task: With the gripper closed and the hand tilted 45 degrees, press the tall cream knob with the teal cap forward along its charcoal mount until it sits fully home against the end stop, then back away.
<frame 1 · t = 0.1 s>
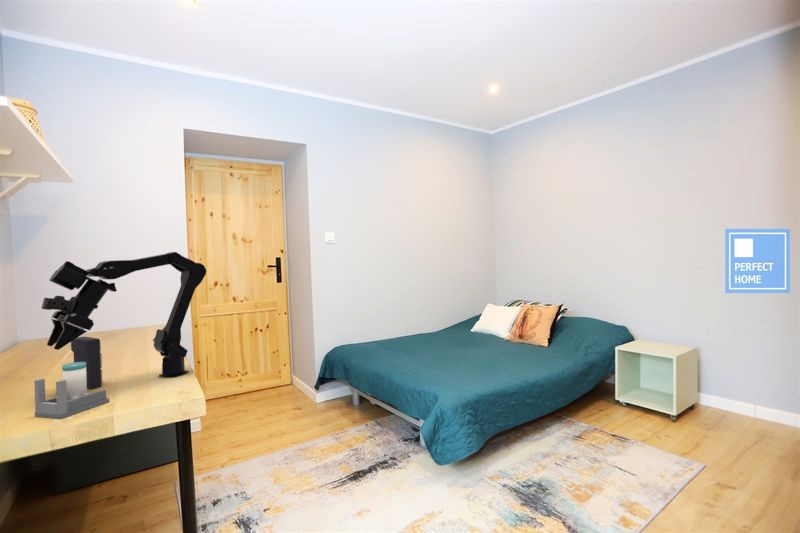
hand: (52, 347, 110), 15 cm above the table, tool tilted 35°, fingers open, 9 cm apart
knob mount: (75, 408, 103), on the table
knob: (74, 384, 103), point 6 cm above the table, slide at 0.0 cm
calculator: (88, 386, 124), on the table
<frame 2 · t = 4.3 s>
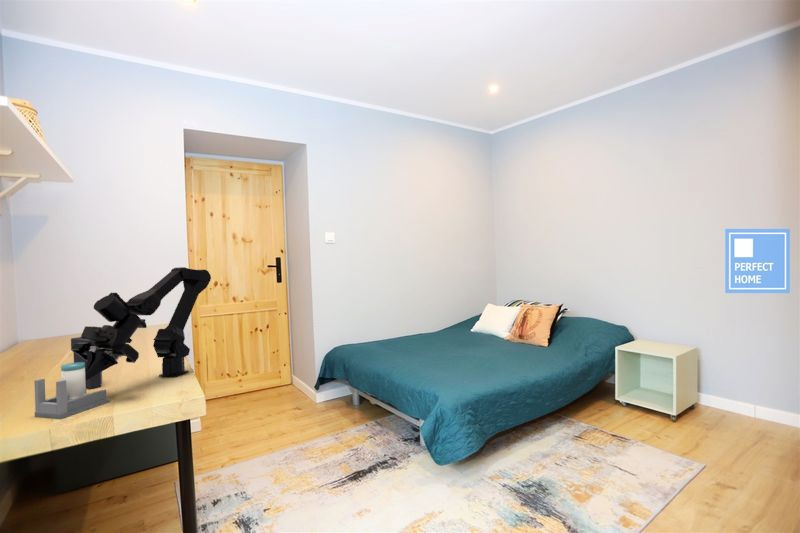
hand: (84, 379, 105), 7 cm above the table, tool tilted 45°, fingers closed, pressing on knob
knob: (73, 384, 103), point 6 cm above the table, slide at 0.3 cm, touching gripper
everything else where it was.
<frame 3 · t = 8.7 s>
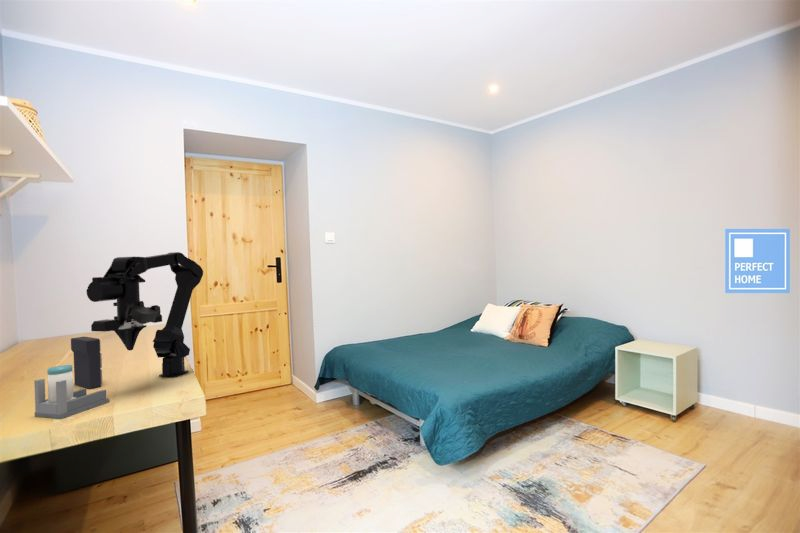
hand: (130, 350, 118), 12 cm above the table, tool pointing down, fingers closed
knob: (60, 388, 100), point 6 cm above the table, slide at 3.4 cm
everything else where it was.
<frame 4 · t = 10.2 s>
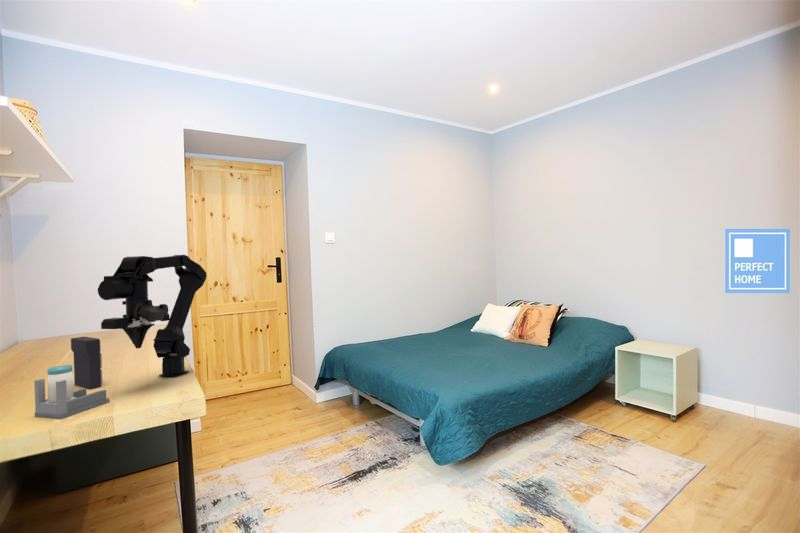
hand: (138, 348, 120), 12 cm above the table, tool pointing down, fingers closed
nothing on the table moved.
at the end: knob slide at 3.4 cm; the gripper is holding nothing; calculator moved 0.2 cm from its start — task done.
